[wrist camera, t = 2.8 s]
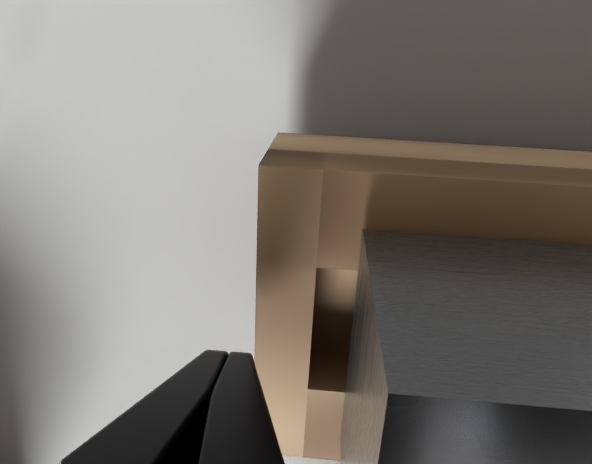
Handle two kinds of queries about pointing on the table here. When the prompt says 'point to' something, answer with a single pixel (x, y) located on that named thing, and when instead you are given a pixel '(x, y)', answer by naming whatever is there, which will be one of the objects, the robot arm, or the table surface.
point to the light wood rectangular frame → (386, 217)
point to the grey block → (469, 352)
